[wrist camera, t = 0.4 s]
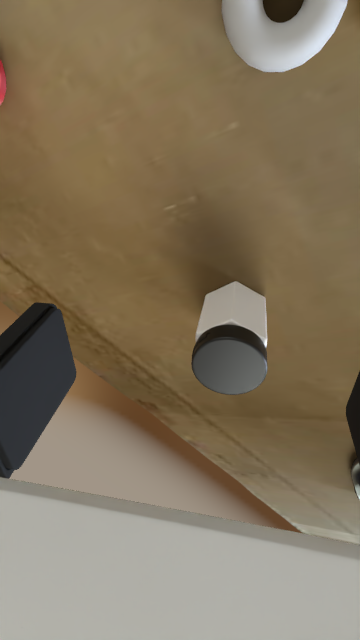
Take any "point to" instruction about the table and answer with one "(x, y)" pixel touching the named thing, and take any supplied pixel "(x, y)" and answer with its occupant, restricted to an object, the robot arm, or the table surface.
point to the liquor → (2, 83)
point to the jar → (231, 340)
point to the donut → (279, 32)
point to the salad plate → (356, 477)
